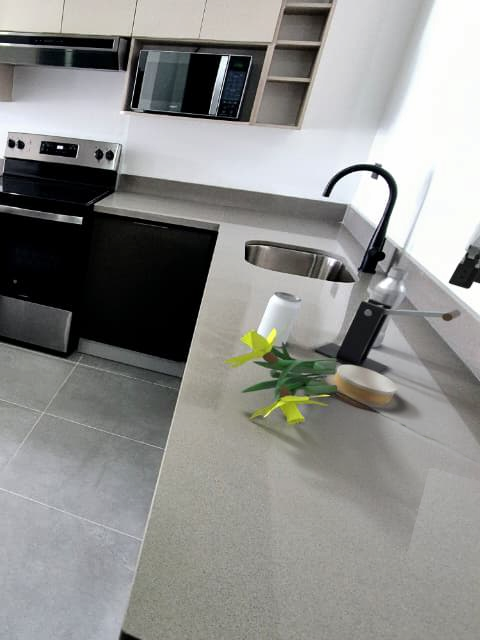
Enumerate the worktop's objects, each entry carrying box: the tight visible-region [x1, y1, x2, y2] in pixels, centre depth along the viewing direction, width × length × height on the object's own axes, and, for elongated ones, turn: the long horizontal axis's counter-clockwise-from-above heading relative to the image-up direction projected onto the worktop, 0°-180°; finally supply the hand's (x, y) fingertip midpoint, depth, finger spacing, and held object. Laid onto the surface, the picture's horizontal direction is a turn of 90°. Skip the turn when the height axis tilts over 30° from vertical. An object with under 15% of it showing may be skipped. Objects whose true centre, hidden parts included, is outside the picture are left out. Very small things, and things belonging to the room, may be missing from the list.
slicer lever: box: [377, 305, 461, 322], centre depth 104 cm, size 15×6×2 cm, turn 36°
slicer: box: [314, 298, 392, 374], centre depth 112 cm, size 12×9×15 cm
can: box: [256, 291, 302, 348], centre depth 117 cm, size 6×6×12 cm
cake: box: [330, 364, 398, 414], centre depth 101 cm, size 14×14×4 cm
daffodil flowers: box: [222, 318, 338, 426], centre depth 89 cm, size 17×15×35 cm
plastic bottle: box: [370, 266, 410, 349], centre depth 122 cm, size 6×7×20 cm
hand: (466, 283), depth 96 cm, fingers open, 9 cm apart
